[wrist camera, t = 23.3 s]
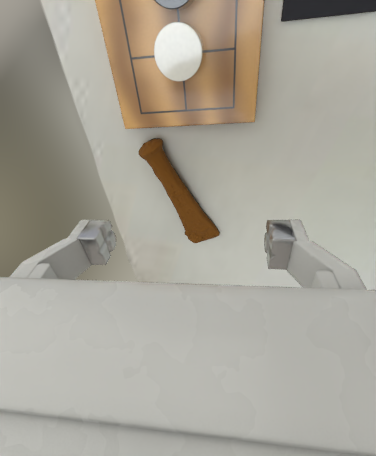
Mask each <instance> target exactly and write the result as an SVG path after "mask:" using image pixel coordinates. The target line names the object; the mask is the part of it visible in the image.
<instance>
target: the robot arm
mask: <svg viewBox="0 0 376 456" xmlns="http://www.w3.org/2000/svg"><path fill="white" fill-rule="evenodd" d="M111 228H112V224H111V222H110V221H109V220H81V221H80V222H79V223H78V225H77V226H76V227H75V228H74V230H73V231H72V233H71V234H70V235H69V237H68V238H67V239H63V240H61V241H59V242H57V243H56V244H54V245H52V246H51V247H49V248H47V249H45V250H43V251H41V252H40V253H38V254H36V255H34V256H32V257H31V258H29V259H27V260H25V261H23V262H22V263H21V264H20V265H19V267H18V268H17V269H16V270H15V271H14V272H13V274H12V275H11V276H10V277H0V456H376V290H367V289H366V287H365V285H364V283H363V282H362V280H361V278H360V276H359V274H358V272H357V271H356V270H355V269H353V268H352V267H350V266H349V265H347V264H346V263H344V262H343V261H341V260H340V259H338V258H337V257H335V256H334V255H332V254H331V253H330V252H328V251H327V250H325V249H324V248H322V247H321V246H319V245H318V244H316V243H315V242H313V241H309V238H308V236H307V234H306V231H305V229H304V226H303V224H302V221H301V220H300V219H290V220H267V224H266V229H267V232H266V233H265V238H264V246H265V252H266V253H267V264H268V269H286V270H287V271H288V272H289V273H290V274H291V275H292V276H293V278H294V279H295V280H296V281H297V282H298V283H299V284H300V285H301V286H302V287H303V288H299V287H269V286H240V285H212V284H184V283H154V282H125V281H97V280H75V279H76V278H77V277H78V276H79V275H80V274H82V273H83V272H84V271H85V270H86V269H88V268H89V267H90V266H91V265H99V264H100V265H103V264H105V265H106V264H107V262H108V260H109V258H110V256H111V255H110V252H111V251H112V250H114V248H115V246H116V235H115V233H114V232H113V231H112V230H111Z"/></svg>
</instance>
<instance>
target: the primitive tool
mask: <svg viewBox="0 0 376 456" xmlns="http://www.w3.org/2000/svg"><path fill="white" fill-rule="evenodd" d="M162 145H163V141H162V140H161V139H152V140H150V141H148V142H146V143H144V144H143V145H142V147H141V148H140V150H139V155H140V156H141V157H142V158H143V159H145V160H147V162H148V163H149V165H150V166H151V167H152V169H153V171H154V173H155V175H156V176H157V177H158V179H159V180H160V181H161V183H162V184H163V186H164V188H165V190H166V192H167V194H168V196H169V197H170V199H171V201H172V203H173V205H174V207H175V208H176V210H177V213H178V214H179V217H180V219H181V221H182V223H183V226H184V228H185V230H186V231H185V235H186V236H188V239H189V240H191V241H192V242H193V243H198V242H200V241H204V240H207V239H211V238H214V237H217V236H219V232H218V229H217V228H216V226H215V225H214V224H213V223H212V221H211V220H210V219H209V218H208V217H207V215H206V214H205V213H204V212H203V211H202V209H201V208H200V206H199V204H198V203H197V202H196V201H195V200H194V198H193V197H192V195H191V194H190V192H189V191H188V189H187V187H186V186H185V185H184V183H183V182H182V181H181V179H180V178H179V176H178V175H177V173H176V172H175V170H174V168H173V167H172V165H171V164H170V162H169V160H168V158H167V156H166V155H165V152H164V151H163V148H162Z"/></svg>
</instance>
